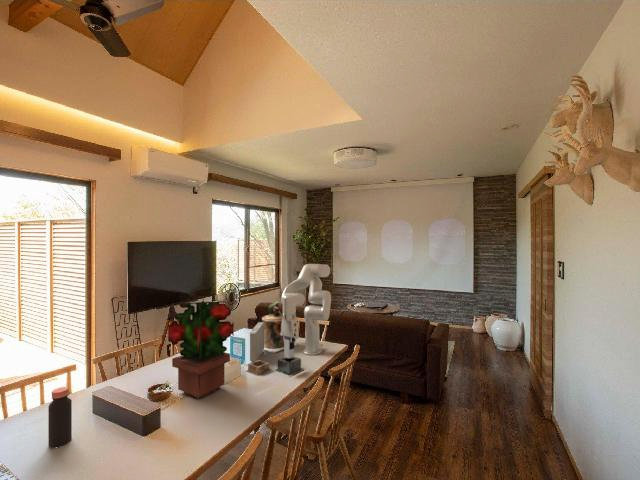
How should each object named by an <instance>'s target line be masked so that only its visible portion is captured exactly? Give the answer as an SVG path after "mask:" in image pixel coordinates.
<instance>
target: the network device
mask: <svg viewBox="0 0 640 480" xmlns="http://www.w3.org/2000/svg"><path fill="white" fill-rule="evenodd" d="M263 349H264V322H263V321H261V322H260V321H258V322H257V324H255V326H254V327H253V328H252V329H251V331H249V362H255V361H257V360H259V358H260V356H261V355H262V354H264V355H266V354H267V351H264V350H263Z"/></svg>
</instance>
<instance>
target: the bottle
mask: <svg viewBox="0 0 640 480" xmlns="http://www.w3.org/2000/svg"><path fill="white" fill-rule="evenodd" d="M68 396H69V387H68V386H61V387H57V388H55V389H53V390H52V391H51V400H52V401H51V402H50V403H49V404H48V409H47V411H48V413H47V414H48V427H47V428H48V433H47V434H48V437H47V438H48V443H47V444H48V445H47V446H48V447H49V448H50V449H55V448H56V447H57V448H61V447H63V446H66V445H67V444H68V442H69V443H70V442H71V440H72V434H73V433H72V431H73V430H72V428H73V427H72V426H73V425H72V424H73V423H72V422H73V421H72V413H73V412H72V411H73V409H72V407H73V406H72V404H73V403H72V399H71V398H70V397H68ZM60 446H61V447H60ZM57 448H56V449H57Z"/></svg>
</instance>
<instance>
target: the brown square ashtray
mask: <svg viewBox="0 0 640 480" xmlns="http://www.w3.org/2000/svg"><path fill="white" fill-rule="evenodd" d="M270 371H272V368H270V363H269V362H267V361H264V360H261V359H258V360H257V361H251V362H250V363H248V364H247V370H245V372H246V373H249V374H251V375H253V376H256V377H259V376H261V375H264V374H266V373H268V372H270Z"/></svg>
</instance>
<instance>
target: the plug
mask: <svg viewBox="0 0 640 480" xmlns="http://www.w3.org/2000/svg"><path fill="white" fill-rule="evenodd" d="M292 339H293V338H292ZM283 357H285V358H292V357H295V348H294V349H291V350H290V337H287V336H284V349H283Z"/></svg>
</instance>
